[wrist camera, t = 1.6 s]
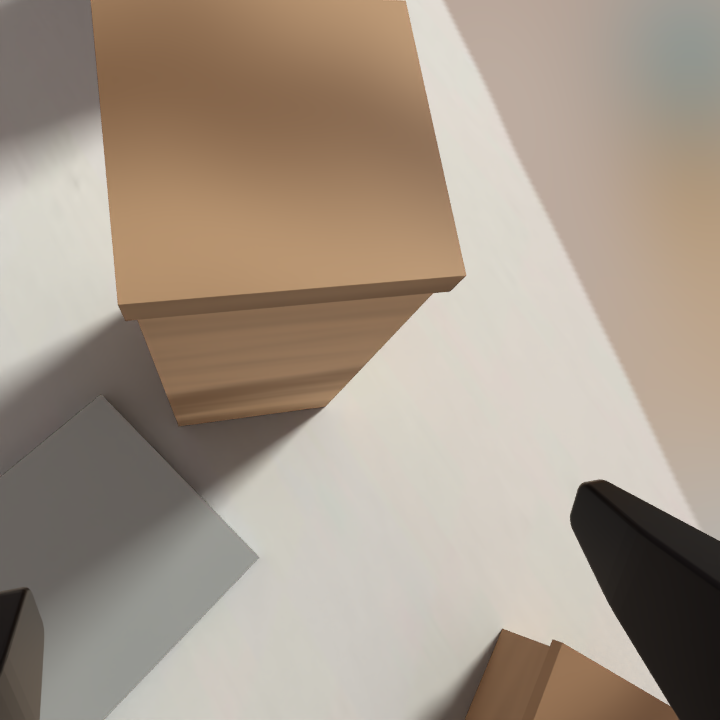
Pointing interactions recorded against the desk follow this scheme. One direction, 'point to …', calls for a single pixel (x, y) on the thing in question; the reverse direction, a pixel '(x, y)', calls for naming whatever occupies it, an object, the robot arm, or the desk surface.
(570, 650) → the walnut trinket box
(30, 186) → the desk surface
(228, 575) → the coaster
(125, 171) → the oak tea canister
